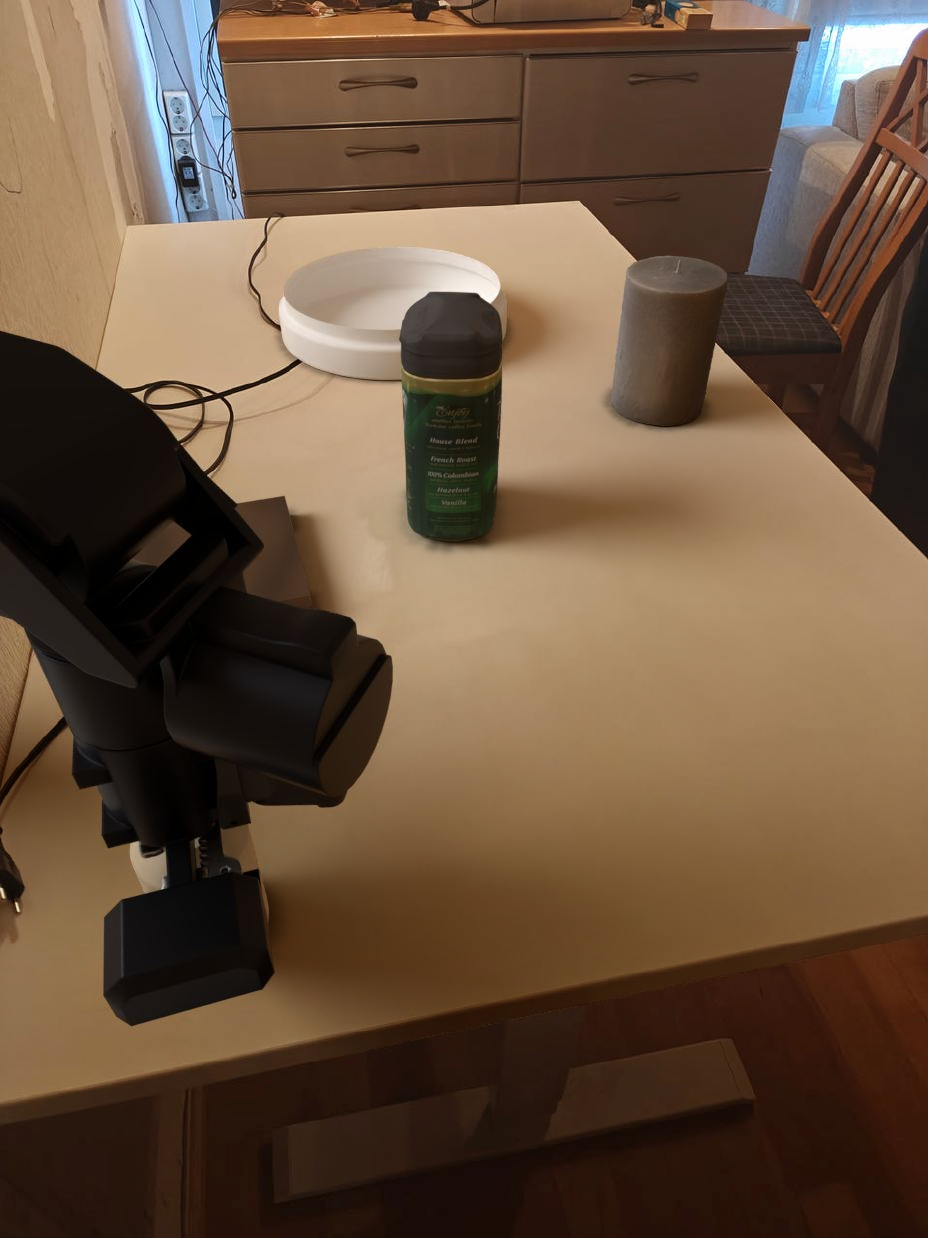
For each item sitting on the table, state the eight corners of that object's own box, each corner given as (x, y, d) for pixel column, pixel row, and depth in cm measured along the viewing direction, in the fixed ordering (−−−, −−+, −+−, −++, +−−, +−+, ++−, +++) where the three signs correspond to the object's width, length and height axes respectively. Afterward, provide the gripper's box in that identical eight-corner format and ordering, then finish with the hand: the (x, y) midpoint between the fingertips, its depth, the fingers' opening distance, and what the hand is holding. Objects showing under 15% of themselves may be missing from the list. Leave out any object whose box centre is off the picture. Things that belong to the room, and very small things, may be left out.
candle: (163, 890, 49) (120, 787, 42) (262, 865, 50) (236, 761, 43) (170, 985, 45) (124, 889, 38) (277, 955, 46) (251, 857, 39)
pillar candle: (719, 419, 89) (752, 271, 79) (632, 433, 87) (654, 283, 77) (676, 377, 96) (701, 236, 86) (594, 389, 94) (610, 246, 84)
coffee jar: (498, 546, 73) (506, 334, 61) (404, 545, 73) (392, 333, 61) (497, 483, 80) (503, 281, 68) (411, 482, 80) (402, 280, 68)
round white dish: (525, 297, 113) (528, 254, 109) (476, 393, 93) (477, 345, 89) (329, 278, 118) (325, 236, 114) (244, 365, 98) (236, 318, 94)
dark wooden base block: (123, 652, 64) (116, 632, 62) (122, 541, 74) (115, 522, 72) (313, 615, 67) (310, 595, 65) (287, 514, 77) (284, 495, 75)
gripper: (385, 836, 30) (405, 1028, 41) (302, 532, 44) (334, 735, 54) (47, 921, 28) (161, 1102, 38) (68, 572, 41) (148, 777, 52)
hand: (214, 899), depth 46 cm, fingers closed on candle, 5 cm apart
